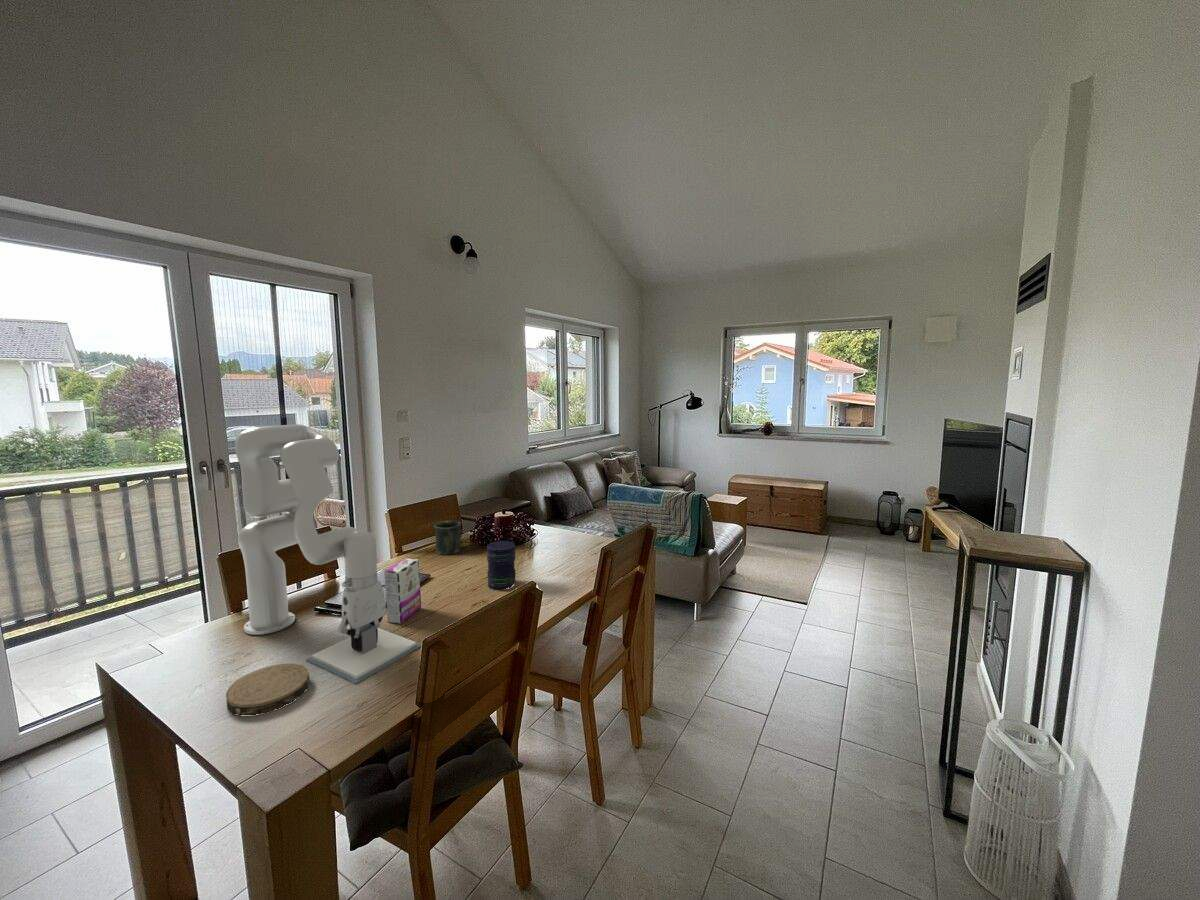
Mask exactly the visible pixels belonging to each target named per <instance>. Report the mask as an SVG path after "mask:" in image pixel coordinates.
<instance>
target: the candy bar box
mask: <svg viewBox="0 0 1200 900" xmlns="http://www.w3.org/2000/svg"><path fill="white" fill-rule="evenodd" d="M420 578H421V577H420V561H419V559H415V558H404V559H402V560H401V561H399V562H398V563H395V564H394V565H393V566H391V567H389V568H388V569H386V570H384V585H385V586H384V587H385V598H386V599H385V602H386V608H387V609H388V612H387V613H386V614H387V623H389V624H390V623H391V624H400V625H402V624H403V623H404V622H405V621H407V620H408V619H409V618H410V617H412V616H413V615H414V614H415V613H417V612H418V611H419V610H420V609H421V608H422V596H421V582H420V581H421V580H420Z"/></svg>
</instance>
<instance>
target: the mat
mask: <svg viewBox="0 0 1200 900" xmlns="http://www.w3.org/2000/svg"><path fill="white" fill-rule="evenodd" d="M415 642H416V641H415ZM421 644H422V643H419V642H416V645H415V646H414V647H412V648H410V649H408V650H407V651H405V652H403V653H401V654H400V655H398V656H396V657H394V658H392V659H391V660H389V661H387V662H385V663H384V664H382V665H380V666H378V667H377V668H375V669H373V670H371V671H370V672H368V673H366V674H364V675H363V676H361V677H359V678H357V679H355V678H353V677H351V676H349V675H347V674H345V673H343V672H340V671H338V670H336V669H334V668H332V667H330V666H328V665H325V664H323V663H321V662H319V661H317V660H315V659H313V658H312V656H310V657H308V658H305V661H306V662H307V663H309V662H310V663H309V664H311V663H312V664H311V665H313V664H314V666H315V665H316V667H318V666H319V667H318V668H320V669H322V670H324V669H325V670H324V671H326V670H327V671H326V672H328V671H329V672H328V673H330V672H331V673H330V674H333V675H335V674H336V675H335V676H337V675H339V676H340V677H339V676H338V677H339V678H341V677H342V679H343V678H344V679H343V680H345V679H346V680H345V681H347V680H349V681H348V682H350V681H351V682H350V683H352V682H353V683H352V684H354V683H355V684H354V685H357V684H359V683H360V681H361V682H362V681H365V680H366V679H368V678H369V677H371V676H372V675H375V674H377V673H378V672H380V671H382V670H383V669H385V668H387V667H389V666H390V665H393V664H395V662H397V661H399V660H401V659H402V658H404V657H405V655H406V656H407V654H408V655H409V654H411V653H412V651H413V652H414V651H416V650H418V649H420V648H421V647H422V646H421ZM415 649H416V650H415ZM410 652H411V653H410ZM400 658H401V659H400ZM386 666H387V667H386ZM374 673H375V674H374ZM367 677H368V678H367ZM365 678H366V679H365ZM356 683H357V684H356Z"/></svg>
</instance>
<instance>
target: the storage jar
mask: <svg viewBox="0 0 1200 900" xmlns="http://www.w3.org/2000/svg"><path fill="white" fill-rule="evenodd" d="M486 556H487V558H486V560H487V563H488V564H487V565H488V566H487V568H488V570H487V572H486V573H487V583H488V584H487V588H488V587H489V588H490V589H489V588H488V589H489V590H491V589H493V590H492V591H495V590H503V589H506V588H508V587H509V588H510V587H511V586H512V585H513V584H514V583H515V584H516V569H515V560H516V544H515V542H513V541H510V540H495V541H492V542H489V543H488V544H487V551H486Z"/></svg>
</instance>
